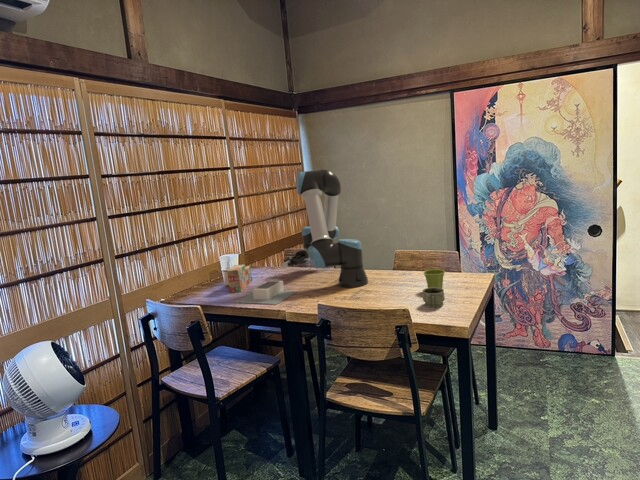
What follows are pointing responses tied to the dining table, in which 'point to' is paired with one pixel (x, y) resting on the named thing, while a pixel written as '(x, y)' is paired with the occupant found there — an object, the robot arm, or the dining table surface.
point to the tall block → (268, 290)
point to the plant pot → (434, 278)
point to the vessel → (433, 297)
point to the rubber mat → (273, 300)
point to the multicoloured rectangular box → (239, 277)
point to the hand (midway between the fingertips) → (283, 265)
